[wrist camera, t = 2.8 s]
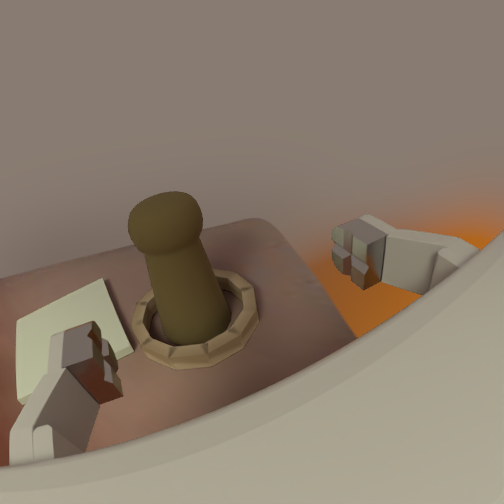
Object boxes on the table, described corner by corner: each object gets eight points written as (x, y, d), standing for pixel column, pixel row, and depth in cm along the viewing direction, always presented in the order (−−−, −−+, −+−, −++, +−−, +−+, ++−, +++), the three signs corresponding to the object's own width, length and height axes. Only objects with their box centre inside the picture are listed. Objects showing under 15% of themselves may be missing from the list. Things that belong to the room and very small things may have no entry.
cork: (155, 311, 27) (113, 201, 21) (215, 287, 29) (188, 175, 23) (173, 357, 22) (119, 232, 16) (243, 327, 24) (216, 198, 18)
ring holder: (166, 391, 19) (159, 380, 19) (125, 313, 27) (119, 301, 26) (283, 323, 24) (282, 309, 23) (218, 267, 31) (215, 255, 31)
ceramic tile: (22, 405, 18) (17, 399, 17) (20, 325, 26) (17, 320, 26) (134, 351, 23) (130, 345, 22) (105, 283, 32) (102, 277, 31)
